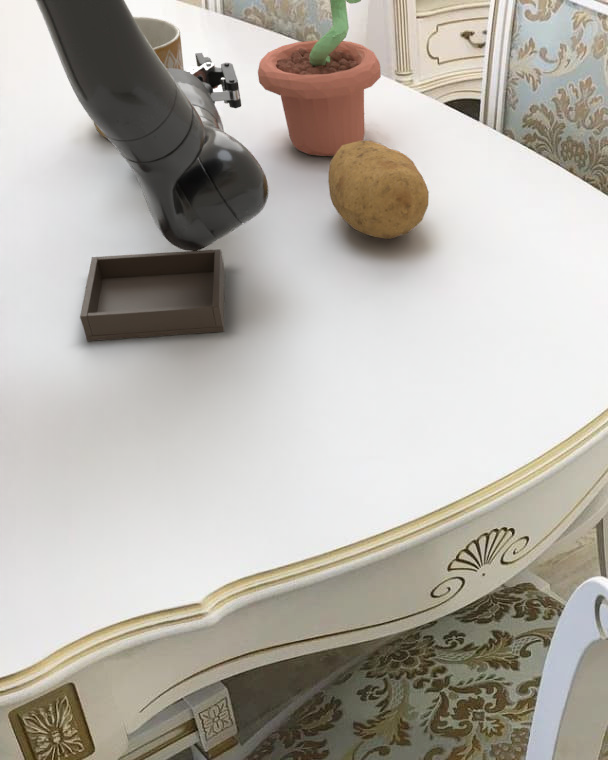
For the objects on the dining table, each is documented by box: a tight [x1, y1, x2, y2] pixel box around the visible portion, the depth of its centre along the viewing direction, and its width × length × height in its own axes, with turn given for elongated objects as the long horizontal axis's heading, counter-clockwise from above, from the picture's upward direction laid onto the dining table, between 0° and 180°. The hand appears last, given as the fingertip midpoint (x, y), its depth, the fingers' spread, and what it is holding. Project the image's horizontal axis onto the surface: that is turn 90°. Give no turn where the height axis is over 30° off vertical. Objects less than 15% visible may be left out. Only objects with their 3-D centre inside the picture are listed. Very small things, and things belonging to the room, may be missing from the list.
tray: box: [79, 248, 226, 342], centre depth 104 cm, size 12×11×2 cm
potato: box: [327, 140, 430, 240], centre depth 114 cm, size 10×14×8 cm
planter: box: [93, 16, 185, 140], centre depth 130 cm, size 13×13×10 cm
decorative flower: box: [257, 0, 382, 157], centre depth 121 cm, size 15×14×30 cm
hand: (159, 66), depth 119 cm, fingers open, 8 cm apart
